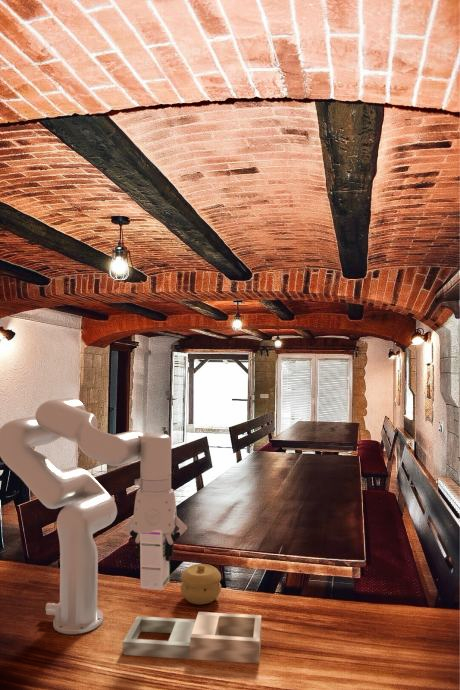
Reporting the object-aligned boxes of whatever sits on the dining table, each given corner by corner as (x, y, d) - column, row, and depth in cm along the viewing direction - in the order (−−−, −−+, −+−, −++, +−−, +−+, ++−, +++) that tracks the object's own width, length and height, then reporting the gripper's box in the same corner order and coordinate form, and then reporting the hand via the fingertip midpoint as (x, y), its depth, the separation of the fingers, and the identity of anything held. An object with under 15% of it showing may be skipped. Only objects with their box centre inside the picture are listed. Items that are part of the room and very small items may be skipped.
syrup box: (162, 591, 123) (163, 529, 124) (139, 588, 124) (139, 528, 125) (170, 580, 129) (170, 522, 129) (147, 578, 130) (148, 520, 130)
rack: (122, 654, 121) (122, 633, 121) (136, 627, 133) (137, 608, 133) (259, 663, 118) (259, 641, 118) (261, 635, 130) (261, 615, 130)
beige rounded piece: (215, 612, 141) (215, 575, 142) (174, 607, 144) (174, 571, 144) (225, 593, 153) (226, 559, 153) (188, 588, 156) (188, 555, 156)
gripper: (116, 487, 124) (116, 562, 124) (187, 489, 123) (187, 566, 122) (126, 480, 132) (125, 551, 131) (193, 482, 130) (192, 554, 130)
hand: (155, 557), depth 127 cm, fingers closed on syrup box, 6 cm apart
